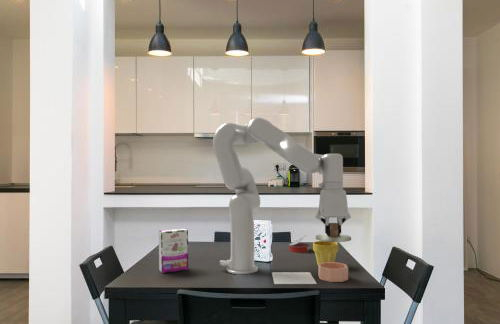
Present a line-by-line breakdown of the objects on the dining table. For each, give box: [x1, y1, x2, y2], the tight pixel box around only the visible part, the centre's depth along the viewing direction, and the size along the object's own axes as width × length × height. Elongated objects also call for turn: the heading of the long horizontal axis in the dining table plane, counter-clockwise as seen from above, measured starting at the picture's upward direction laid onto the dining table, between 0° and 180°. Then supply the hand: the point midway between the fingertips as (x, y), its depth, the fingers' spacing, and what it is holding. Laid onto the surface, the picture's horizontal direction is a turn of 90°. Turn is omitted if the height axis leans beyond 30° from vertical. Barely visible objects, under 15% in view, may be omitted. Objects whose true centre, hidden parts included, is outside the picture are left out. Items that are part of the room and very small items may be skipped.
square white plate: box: [271, 271, 318, 285], centre depth 145 cm, size 15×15×1 cm
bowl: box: [317, 262, 349, 283], centre depth 146 cm, size 10×10×5 cm
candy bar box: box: [158, 228, 189, 274], centre depth 158 cm, size 11×5×16 cm, turn 117°
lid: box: [315, 222, 352, 243], centre depth 146 cm, size 13×13×6 cm
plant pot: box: [312, 240, 339, 266], centre depth 165 cm, size 10×10×10 cm
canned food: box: [288, 234, 310, 254], centre depth 195 cm, size 11×10×10 cm
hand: (333, 235), depth 146 cm, fingers closed on lid, 3 cm apart
